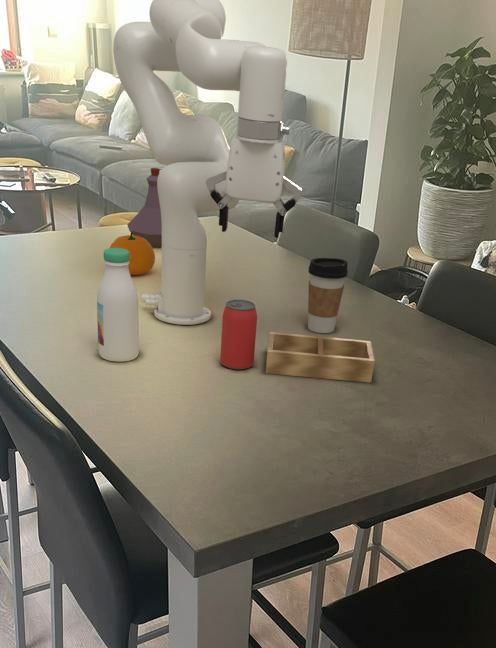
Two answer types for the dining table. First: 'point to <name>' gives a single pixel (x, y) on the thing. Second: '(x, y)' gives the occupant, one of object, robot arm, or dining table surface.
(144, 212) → the flask
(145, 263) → the fruit
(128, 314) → the milk bottle
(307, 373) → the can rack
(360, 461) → the dining table surface
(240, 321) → the beer can
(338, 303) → the coffee cup
